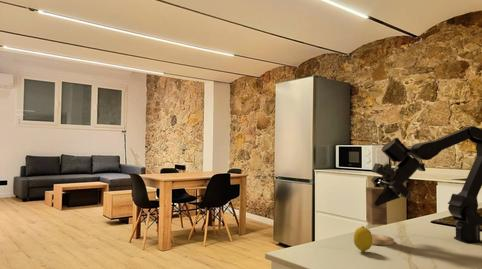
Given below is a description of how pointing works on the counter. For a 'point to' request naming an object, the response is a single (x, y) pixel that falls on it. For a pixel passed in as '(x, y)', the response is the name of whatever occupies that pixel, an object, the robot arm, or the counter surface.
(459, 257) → the counter surface
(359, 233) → the lemon
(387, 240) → the cork trivet
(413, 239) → the counter surface
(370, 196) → the walnut block
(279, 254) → the counter surface
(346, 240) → the counter surface
